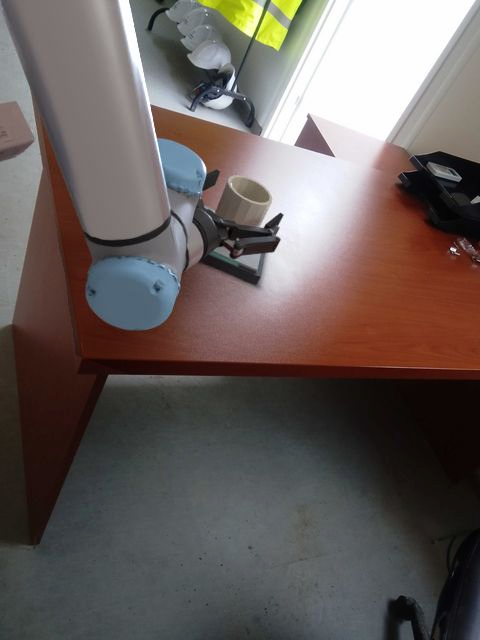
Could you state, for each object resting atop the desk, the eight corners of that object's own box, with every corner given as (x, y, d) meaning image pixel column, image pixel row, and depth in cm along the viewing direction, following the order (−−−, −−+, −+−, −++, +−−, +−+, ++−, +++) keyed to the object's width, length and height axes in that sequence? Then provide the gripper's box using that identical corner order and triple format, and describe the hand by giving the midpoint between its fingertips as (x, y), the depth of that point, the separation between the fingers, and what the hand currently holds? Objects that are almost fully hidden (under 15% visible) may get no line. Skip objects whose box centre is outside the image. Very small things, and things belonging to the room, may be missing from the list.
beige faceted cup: (204, 238, 80) (224, 189, 74) (213, 216, 86) (232, 169, 80) (247, 257, 82) (270, 210, 75) (252, 234, 88) (274, 189, 81)
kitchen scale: (177, 251, 79) (181, 240, 77) (195, 211, 90) (199, 200, 88) (256, 285, 82) (261, 275, 80) (265, 242, 93) (270, 232, 91)
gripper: (107, 212, 68) (183, 178, 84) (244, 307, 67) (295, 254, 82) (117, 167, 63) (196, 139, 79) (265, 269, 62) (315, 220, 77)
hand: (247, 198), depth 81 cm, fingers open, 13 cm apart
